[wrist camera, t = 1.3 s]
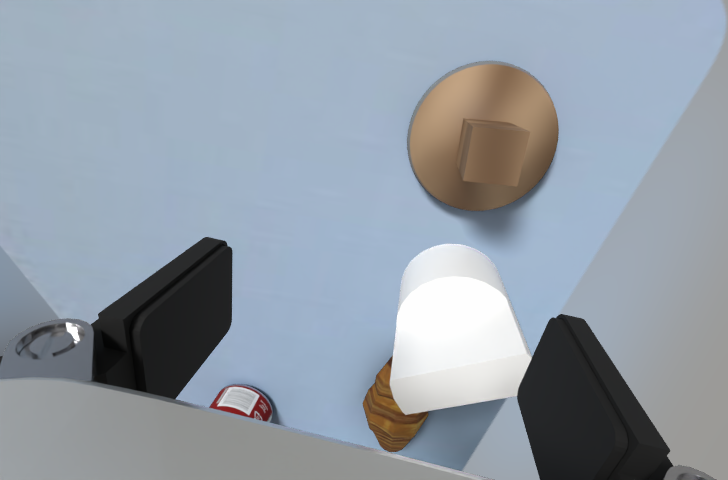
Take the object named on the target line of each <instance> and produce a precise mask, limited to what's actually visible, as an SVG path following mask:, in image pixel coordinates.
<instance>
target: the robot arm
mask: <svg viewBox="0 0 728 480" xmlns="http://www.w3.org/2000/svg"><path fill="white" fill-rule="evenodd" d="M98 316H99V319H98V320H96V321H95V322H94V323H92V324H91V325H90V324H89V323H87V322H85V321H82V320H79V319H57V320H52V321H48V322H44V323H40V324H38V325H35V326H32V327H30V328H28V329H26V330H25V331H23V332H21V333H19V334H18V335H16V336H15V337H14V338H13V339H12V340H11V341H10V342H9V343H8V345H7V347H6V348H5V351H4V354H3V356H1V357H0V480H493V479H489V478H485V477H481V476H477V475H474V474H470V473H466V472H462V471H458V470H455V469H451V468H447V467H443V466H439V465H435V464H431V463H428V462H424V461H420V460H416V459H412V458H408V457H404V456H400V455H396V454H392V453H388V452H384V451H381V450H377V449H373V448H369V447H365V446H361V445H357V444H353V443H349V442H345V441H341V440H337V439H333V438H329V437H325V436H321V435H317V434H313V433H309V432H305V431H301V430H298V429H294V428H290V427H285V426H281V425H277V424H273V423H269V422H265V421H261V420H257V419H253V418H249V417H245V416H241V415H237V414H233V413H229V412H225V411H221V410H217V409H213V408H209V407H205V406H200V405H196V404H192V403H188V402H184V401H180V400H175V399H176V397H177V396H178V395H179V393H180V392H181V391H182V390H183V388H184V387H185V386H186V385H187V383H188V382H189V381H190V379H191V378H192V377H193V376H194V374H195V373H196V372H197V370H198V369H199V368H200V367H201V365H202V364H203V363H204V362H205V360H206V359H207V358H208V356H209V355H210V354H211V353H212V351H213V350H214V349H215V347H216V346H217V345H218V344H219V342H220V341H221V340H222V339H223V337H224V336H225V335H226V333H227V332H228V330H229V328H230V326H231V322H232V248H231V247H228V246H227V243H226V242H225V241H223V240H218V239H214V238H209V237H205V238H203V239H202V240H200V241H199V242H197V243H196V244H195V245H193V246H192V247H190V248H189V249H188V250H186V251H185V252H184V253H182V254H181V255H179V256H178V257H177V258H175V259H174V260H172V261H171V262H170V263H168V264H167V265H165V266H164V267H163V268H161V269H160V270H158V271H157V272H156V273H154V274H153V275H151V276H150V277H149V278H147V279H146V280H144V281H143V282H142V283H140V284H139V285H138V286H136V287H135V288H133V289H132V290H131V291H129V292H128V293H126V294H125V295H124V296H122V297H121V298H119V299H118V300H117V301H115V302H114V303H112V304H111V305H110V306H108V307H107V308H105V309H104V310H103V311H101V312H100V313H99V314H98ZM517 399H518V403H519V407H520V410H521V414H522V417H523V421H524V424H525V428H526V432H527V435H528V438H529V442H530V445H531V449H532V453H533V456H534V460H535V463H536V467H537V470H538V474H539V477H540V480H716V479H714V478H713V477H711V476H709V475H707V474H706V473H704V472H701V471H699V470H696V469H694V468H691V467H686V466H681V465H678V466H673V465H672V463H671V462H670V460H669V459H668V457H667V454H668V453H669V452H670V449H669V448H668V446H667V445H666V443H665V442H664V440H663V438H662V437H661V436H660V434H659V432H658V431H657V429H656V428H655V426H654V425H653V423H652V422H651V420H650V419H649V417H648V416H647V414H646V413H645V411H644V410H643V408H642V407H641V405H640V404H639V402H638V400H637V399H636V397H635V396H634V394H633V393H632V391H631V390H630V388H629V387H628V385H627V384H626V382H625V381H624V379H623V378H622V376H621V374H620V373H619V371H618V370H617V369H616V367H615V365H614V364H613V362H612V361H611V359H610V358H609V356H608V355H607V353H606V352H605V350H604V349H603V347H602V346H601V344H600V342H599V341H598V340H597V338H596V337H595V335H594V333H593V332H592V330H591V329H590V327H589V326H588V324H587V323H586V321H585V320H584V319H581V318H577V317H572V316H568V315H563V314H560V315H558V316H557V318H551V319H550V320H549V322H548V324H547V326H546V328H545V331H544V333H543V335H542V337H541V339H540V342H539V344H538V346H537V348H536V350H535V353H534V355H533V357H532V359H531V361H530V364H529V366H528V368H527V370H526V372H525V374H524V377H523V379H522V381H521V383H520V385H519V388H518V393H517Z"/></svg>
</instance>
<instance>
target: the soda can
mask: <svg viewBox="0 0 728 480" xmlns="http://www.w3.org/2000/svg"><path fill="white" fill-rule="evenodd" d="M209 408H213V409H217V410H221V411H225V412H229V413H233V414H237V415H241V416H245V417H249V418H253V419H257V420H261V421H265V422H269V423H270V421H271V419H272V415H273V410H272V406H271V404H270V402H269V400H268V399H267V397H266V396H265V395H264V394H262V393H261V392H260V391H258V390H257V389H255V388H253V387H250V386H248V385H243V384H232V385H229V386H226V387H224V388H223V389H222V390H221V391H220V392H219V394H218V395H217V397H216V398H215V400H214V401H213V403H212V404H211V406H210V407H209Z"/></svg>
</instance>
